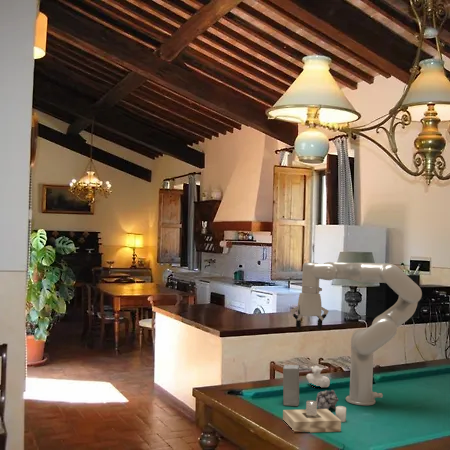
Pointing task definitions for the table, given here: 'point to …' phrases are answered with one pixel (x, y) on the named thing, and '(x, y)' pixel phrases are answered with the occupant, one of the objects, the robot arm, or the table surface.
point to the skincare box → (291, 385)
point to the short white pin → (341, 413)
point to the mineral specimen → (326, 399)
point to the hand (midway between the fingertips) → (309, 329)
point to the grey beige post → (311, 409)
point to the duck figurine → (318, 377)
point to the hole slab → (312, 421)
